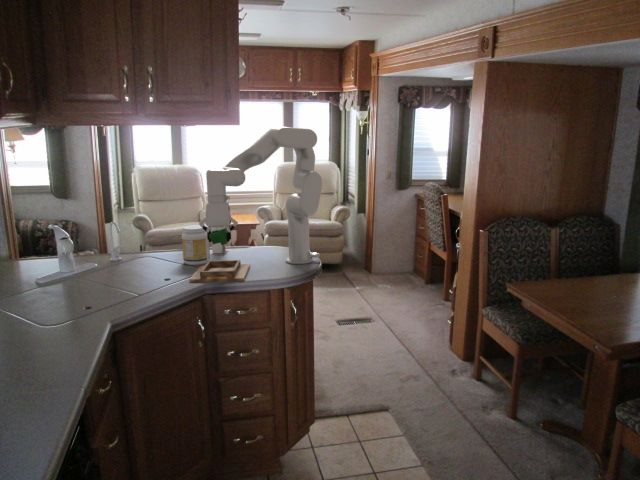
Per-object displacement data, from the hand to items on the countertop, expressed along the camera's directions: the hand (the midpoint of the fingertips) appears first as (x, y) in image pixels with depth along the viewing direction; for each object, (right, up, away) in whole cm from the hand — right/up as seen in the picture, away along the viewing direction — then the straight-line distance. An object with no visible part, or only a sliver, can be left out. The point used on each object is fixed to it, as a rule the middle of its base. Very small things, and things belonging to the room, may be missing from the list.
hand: (219, 241), depth 207 cm
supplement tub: (-15, -10, +23) cm, 30 cm away
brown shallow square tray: (0, -14, +3) cm, 14 cm away
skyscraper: (-9, -6, +42) cm, 43 cm away
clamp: (0, -1, 0) cm, 1 cm away
